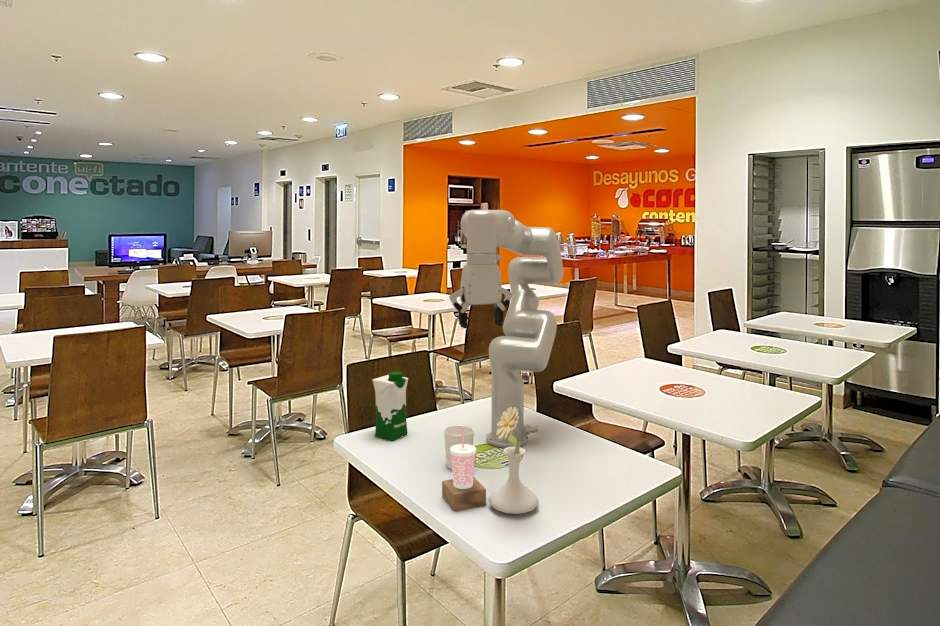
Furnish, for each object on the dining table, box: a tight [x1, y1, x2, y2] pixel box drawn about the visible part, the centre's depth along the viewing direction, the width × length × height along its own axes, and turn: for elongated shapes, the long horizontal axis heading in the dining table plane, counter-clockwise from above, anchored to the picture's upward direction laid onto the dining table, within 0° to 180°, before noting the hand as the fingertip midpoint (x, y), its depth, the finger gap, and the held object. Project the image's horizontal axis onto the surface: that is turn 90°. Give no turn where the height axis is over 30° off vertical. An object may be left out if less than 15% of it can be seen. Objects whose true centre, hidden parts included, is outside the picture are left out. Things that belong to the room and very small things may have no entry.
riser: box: [441, 475, 487, 512], centre depth 150 cm, size 8×8×4 cm
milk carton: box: [372, 370, 409, 442], centre depth 191 cm, size 9×9×20 cm
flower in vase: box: [488, 407, 539, 515], centre depth 144 cm, size 13×11×25 cm
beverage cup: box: [450, 428, 477, 489], centre depth 148 cm, size 6×6×14 cm
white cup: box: [443, 424, 475, 470], centre depth 170 cm, size 8×8×10 cm
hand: (481, 326), depth 164 cm, fingers open, 9 cm apart
